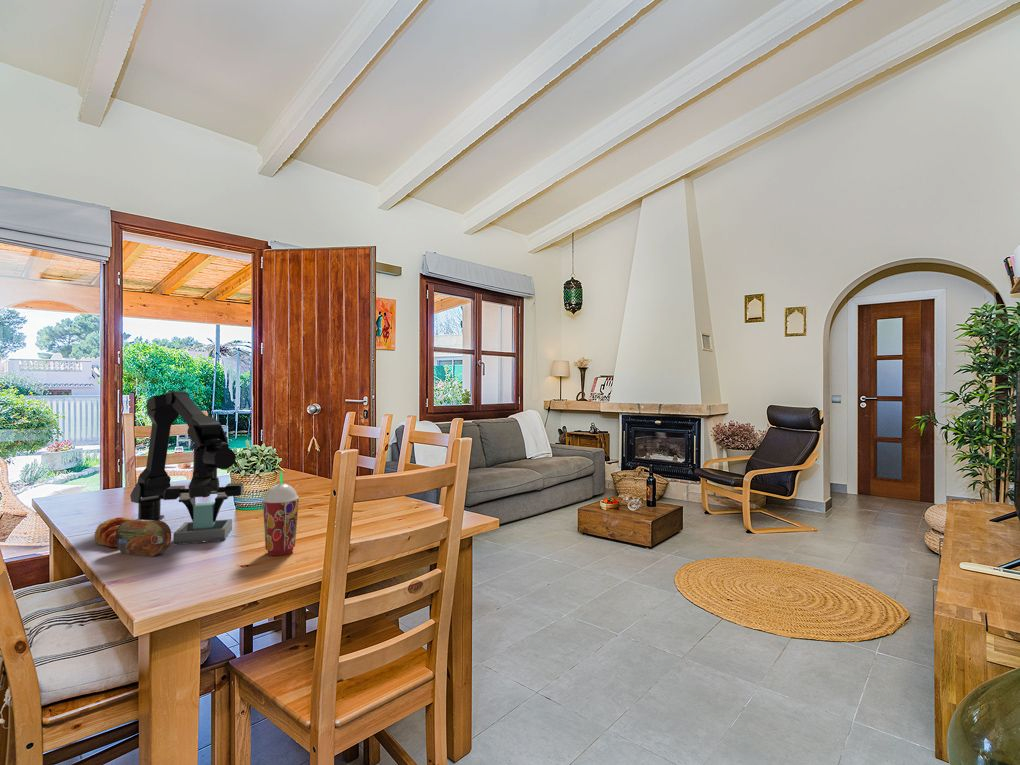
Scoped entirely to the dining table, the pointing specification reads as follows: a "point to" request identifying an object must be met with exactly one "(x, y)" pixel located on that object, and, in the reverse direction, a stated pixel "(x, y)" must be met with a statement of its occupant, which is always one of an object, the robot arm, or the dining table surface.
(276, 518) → the smoothie
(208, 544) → the dining table surface
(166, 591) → the dining table surface
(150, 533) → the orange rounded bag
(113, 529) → the croissant
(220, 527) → the bin
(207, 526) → the block
